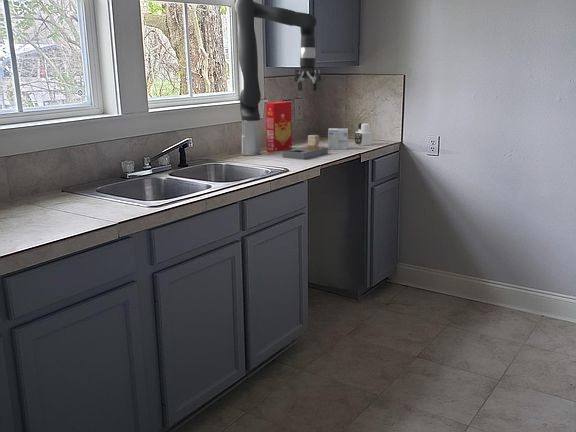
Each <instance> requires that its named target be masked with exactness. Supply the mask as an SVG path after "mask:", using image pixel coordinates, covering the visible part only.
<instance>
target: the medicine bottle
mask: <svg viewBox="0 0 576 432" xmlns="http://www.w3.org/2000/svg"><path fill="white" fill-rule="evenodd" d="M354 145H357V146H372V145H373V132H372V131H370V123H368V122H360V123H358V130H357V131H355V133H354Z"/></svg>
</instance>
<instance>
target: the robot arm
mask: <svg viewBox="0 0 576 432" xmlns="http://www.w3.org/2000/svg"><path fill="white" fill-rule="evenodd" d="M234 10H235V13H236V15H237V23H238V37H237V52H238V53H237V54H238V61H239V62H238V63H239V67H240V70H241V73H242V74H241V75H242V78H243V89H242V90H241V91H240V95H239V108H240V109H239V110H240V116H241V155H242V156H259V155H261V149H262V148H261V114H260V110H259V103H260V102H261V99H262V94H261V89H260V82H259V62H258V61H259V60H258V59H259V58H258V56H259V55H258V43H257V37H256V36H257V35H256V30H255V19H256V18H258V19H263V20H268V21H271V22H274V23H278V24H281V25H282V24H283V25H286V26H291V27H292V26H293V27H299V29H300V30H299V31H300V52H299V53H300V54H299V67H300V69H299V68H298V69H296V68H295V69H294V82H296V83H297V90H298V91H299V92H300V91H303V83H302V82H303V81H305V79H310V80H311V81H312V92H317V90H318V84H319V83H321V82H322V78H321V75H322V74H321V69H316V68H315V67H316V37H315V27H316V26H317V18H316V17H315V15H313V14H311V13H306V12H301V11H294V10H292V9H289V8H288V9H287V8H284V7H283V8H282V7H277V6H270V5H265V4H261V3H259V2H256V1H254V0H236V1H235V3H234Z"/></svg>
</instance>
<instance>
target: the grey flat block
mask: <svg viewBox="0 0 576 432" xmlns="http://www.w3.org/2000/svg"><path fill="white" fill-rule="evenodd" d="M328 154H329V149H328V146H327V147H325V146H324V145H323V146H322V145H319V147H318V148H308V145H305V146H301V147H295V148H292V149H285V150H282V158H284V159H285V158H286V159H294V160H303V161H305V160H308V159H312V158H316V157H320V156H324V155H328Z"/></svg>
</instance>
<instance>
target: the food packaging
mask: <svg viewBox="0 0 576 432" xmlns="http://www.w3.org/2000/svg"><path fill="white" fill-rule="evenodd" d="M292 105H293V104H292V101H274V102H266V103H265V111H266V112H265V123H266V124H265V126H266V127H265V130H266V133H265V134H266V138H265V139H266V141H265V142H266V152H267V153H275V152H281V151H286V150H290V149H293V145H292V144H293V143H292V142H293V140H292V137H293V135H292V133H293V132H292V127H293V126H292V124H293V123H292V122H293V121H292V119H293V118H292V115H293V114H292V112H293V110H292V109H293V108H292Z"/></svg>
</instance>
